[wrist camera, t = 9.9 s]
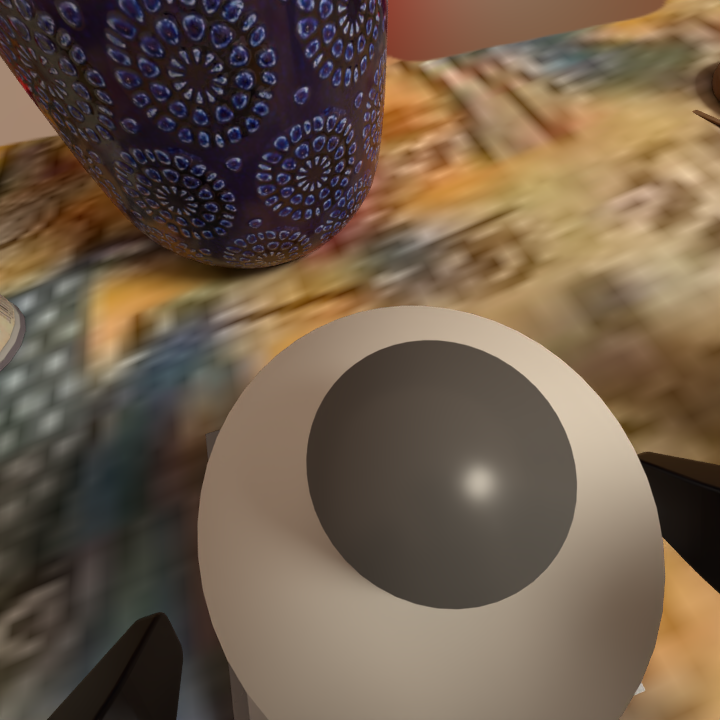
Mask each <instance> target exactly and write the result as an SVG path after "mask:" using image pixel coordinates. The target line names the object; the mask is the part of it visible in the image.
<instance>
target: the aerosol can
mask: <svg viewBox="0 0 720 720" xmlns="http://www.w3.org/2000/svg"><path fill="white" fill-rule="evenodd" d="M25 331H26V327H25V317H24V316H23V314H22V313H21V311H20V310H19V308H18V307H17V306H15V305H14V304H13V303H11V302H9V301H8V300H7V299H6V298H5V297H3V296H2V295H1V294H0V371H1V370H2V369H3V368H4V367H5V366H6V365H7V364H9V363H10V361H11V360H12V358H13V357H14V355H15V354H16V352H17V351H18V349H19V348H20V346H21V344H22V341H23V338H24V335H25Z"/></svg>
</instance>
